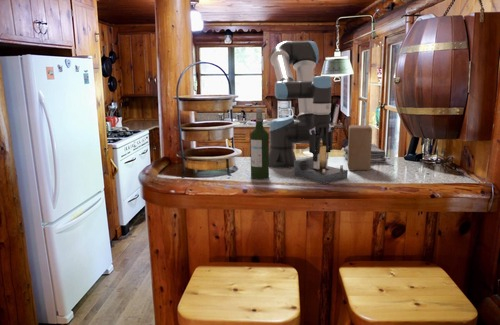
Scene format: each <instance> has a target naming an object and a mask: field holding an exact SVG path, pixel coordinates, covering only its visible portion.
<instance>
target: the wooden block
mask: <svg viewBox="0 0 500 325" xmlns="http://www.w3.org/2000/svg"><path fill="white" fill-rule="evenodd" d="M347 141H348V142H347V146H348V160H347V169H348V171H365V172H367V171H370V170H371V167H372V166H371V165H372V163H371V146H372V144H373V142H372V141H373V128H372V126H371V125H368V124H366V125H365V124H364V125H363V124H362V125H361V124H351V125H349V126H348V139H347Z"/></svg>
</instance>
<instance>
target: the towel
mask: <svg viewBox="0 0 500 325" xmlns="http://www.w3.org/2000/svg"><path fill="white" fill-rule="evenodd" d="M343 157H344V158H345V159H346V160H347V161H348V145H346V146H344V148H343ZM386 161H387V156H386V151H385V150H383V149H380V148H379V147H378V146H377V145H376V144H375V143H372V146H371V164H374V163H375V162H376V163H386Z"/></svg>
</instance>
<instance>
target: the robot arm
mask: <svg viewBox="0 0 500 325" xmlns="http://www.w3.org/2000/svg"><path fill="white" fill-rule="evenodd" d="M319 55H320V53H319V47H318V44H317V43H316V42H315V41H314V40H313V41H312V40H284V41H281V42H279V43H278V44H276V45H275V46H274V47H273V48H272V50H271V51H270V55H269V60H270V64H271V66H272V67H273V69H274V73H275V77H276V82H275V83H274V97H275V99H280V100H287V99H289V100H290V99H293V100H294V99H298V112H299V113H298V115H297V116H296V119H295V118H294V117H293V116H288V117H287V116H285V117H278V118H274V119H272V120H270V122H269V168H275V169H276V168H278V169H279V168H280V169H282V168H283V169H284V168H285V169H286V168H287V169H288V168H293V167H294V160H297V159H296V154H295V151H294V144H308V146H309V147H308V148H309V149H308V150H309V151H308V152H309V153H311V154H312V157H313V161H314V168H315V169H319V165H320V154H318V152H319V146H320V145H326V168H327V166H328V165H329V164H328V160H329V153H331V152H332V151H333V142H334V141H333V139H334V138H333V137H334V131H335V130H334V129H335V128H334V127H332V126H330V123H331V121H332V120H331V118H332V117H331V112H332V111H331V109H332V106H331V105H332V86H333V84H332V77H331V76H330V75H316V76H315V75H314V69H315V68H316V67H317V66H316V65H317V64H318V63H319V58H320V56H319ZM291 65H292V68H293V69H294V70H295V73H296V80H295V79H294V76H293V75H294V74H293V72H292V69H291ZM321 143H322V144H321Z"/></svg>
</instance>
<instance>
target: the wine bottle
mask: <svg viewBox="0 0 500 325" xmlns="http://www.w3.org/2000/svg"><path fill="white" fill-rule="evenodd" d="M255 112H256V113H255V127H254V129H253V130H251V132H250V135H249V136H250V178H252V179H253V180H265V179H266V180H267V179H269V178H270V177H269V176H270V166H269V151H270V133H269V132H268V131H267V130H266V129H265V128H264V122H263V108H262V107H257V108H256V109H255Z"/></svg>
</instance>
